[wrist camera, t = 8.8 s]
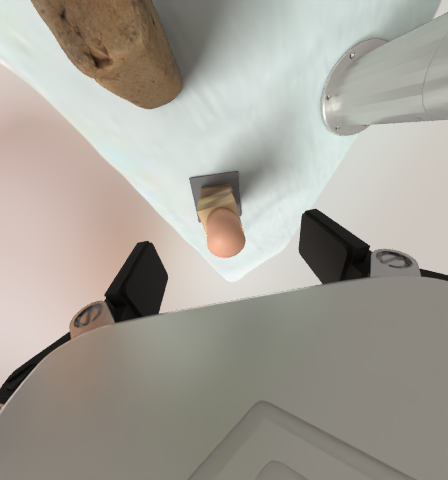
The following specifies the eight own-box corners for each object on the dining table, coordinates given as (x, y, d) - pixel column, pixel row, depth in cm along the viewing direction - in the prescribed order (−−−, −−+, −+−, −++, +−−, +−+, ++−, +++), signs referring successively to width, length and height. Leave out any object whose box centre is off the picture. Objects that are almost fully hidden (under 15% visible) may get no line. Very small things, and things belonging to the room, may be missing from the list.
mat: (237, 171, 35) (237, 171, 35) (240, 215, 40) (240, 216, 40) (189, 178, 35) (189, 178, 34) (199, 221, 40) (199, 222, 40)
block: (188, 99, 28) (165, 44, 11) (147, 116, 29) (67, 88, 12) (154, -2, 22) (0, -426, 5) (104, 22, 23) (-173, -292, 6)
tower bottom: (228, 182, 36) (233, 190, 30) (231, 209, 39) (235, 220, 34) (200, 187, 35) (200, 195, 30) (205, 213, 39) (206, 225, 34)
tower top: (229, 188, 30) (234, 199, 25) (237, 217, 33) (243, 232, 28) (198, 199, 31) (197, 211, 26) (209, 226, 34) (210, 242, 29)
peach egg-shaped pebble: (236, 205, 26) (244, 222, 21) (238, 233, 28) (246, 254, 23) (203, 210, 26) (203, 228, 20) (209, 237, 28) (210, 260, 23)
